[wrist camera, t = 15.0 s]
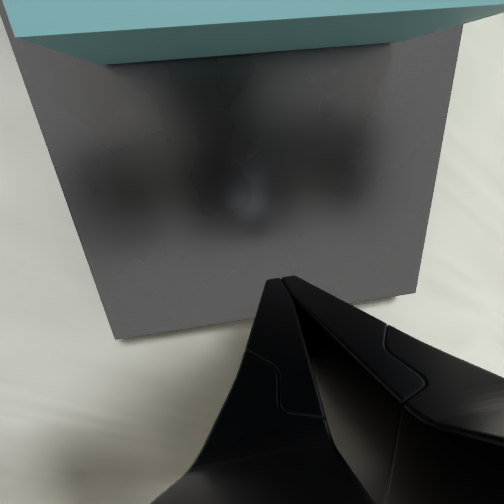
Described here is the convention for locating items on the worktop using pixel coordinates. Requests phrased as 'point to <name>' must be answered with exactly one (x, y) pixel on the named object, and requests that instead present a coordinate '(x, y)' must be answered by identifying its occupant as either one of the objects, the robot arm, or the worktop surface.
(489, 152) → the worktop surface
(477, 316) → the worktop surface
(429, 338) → the worktop surface
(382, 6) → the slide jaw
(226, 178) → the vise
